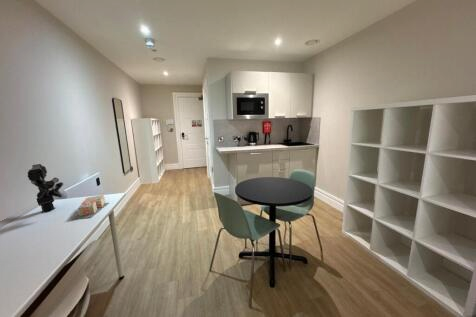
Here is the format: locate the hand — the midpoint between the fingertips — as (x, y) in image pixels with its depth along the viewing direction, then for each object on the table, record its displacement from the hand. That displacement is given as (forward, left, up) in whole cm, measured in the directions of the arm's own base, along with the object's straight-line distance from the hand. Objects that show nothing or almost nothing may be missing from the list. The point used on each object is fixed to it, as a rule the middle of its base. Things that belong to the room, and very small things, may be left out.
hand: (61, 196), depth 148 cm
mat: (+19, 0, -13) cm, 23 cm away
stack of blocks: (+12, +1, -10) cm, 16 cm away
